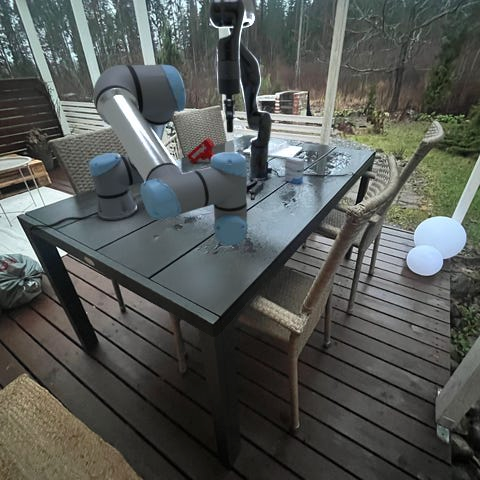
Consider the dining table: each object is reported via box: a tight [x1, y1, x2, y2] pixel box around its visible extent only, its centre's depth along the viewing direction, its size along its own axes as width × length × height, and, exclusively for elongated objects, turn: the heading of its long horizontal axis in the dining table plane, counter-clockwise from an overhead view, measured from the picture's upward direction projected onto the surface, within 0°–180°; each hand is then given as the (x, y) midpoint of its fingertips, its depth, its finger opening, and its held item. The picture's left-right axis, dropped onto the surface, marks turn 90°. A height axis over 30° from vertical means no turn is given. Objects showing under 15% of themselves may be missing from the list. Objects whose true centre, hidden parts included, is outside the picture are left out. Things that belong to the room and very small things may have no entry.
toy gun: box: [186, 137, 217, 164], centre depth 168 cm, size 18×4×15 cm
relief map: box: [242, 138, 304, 160], centre depth 192 cm, size 27×35×5 cm
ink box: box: [284, 156, 306, 185], centre depth 140 cm, size 8×5×12 cm, turn 47°
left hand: (230, 176), depth 90 cm, fingers open, 13 cm apart
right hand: (230, 129), depth 97 cm, fingers open, 8 cm apart
